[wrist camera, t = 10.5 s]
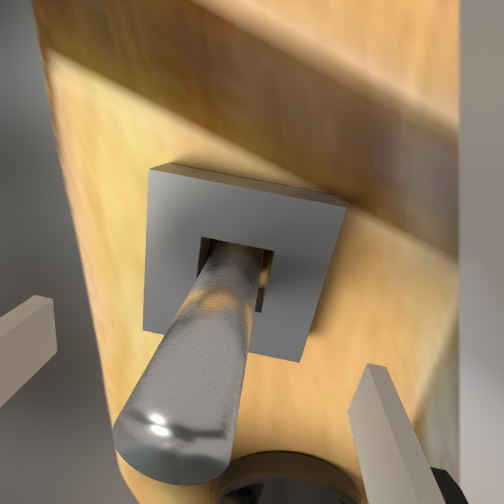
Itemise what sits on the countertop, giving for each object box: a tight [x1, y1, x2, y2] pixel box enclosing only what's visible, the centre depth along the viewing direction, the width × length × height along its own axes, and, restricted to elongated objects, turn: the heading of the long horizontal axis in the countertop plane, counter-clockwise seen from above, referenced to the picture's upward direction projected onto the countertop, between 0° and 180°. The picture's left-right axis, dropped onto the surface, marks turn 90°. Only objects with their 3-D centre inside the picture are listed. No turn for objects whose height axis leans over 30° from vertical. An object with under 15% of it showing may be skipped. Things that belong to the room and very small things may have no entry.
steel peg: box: [113, 240, 263, 485], centre depth 15 cm, size 3×3×14 cm
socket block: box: [143, 163, 347, 363], centre depth 20 cm, size 11×11×3 cm
